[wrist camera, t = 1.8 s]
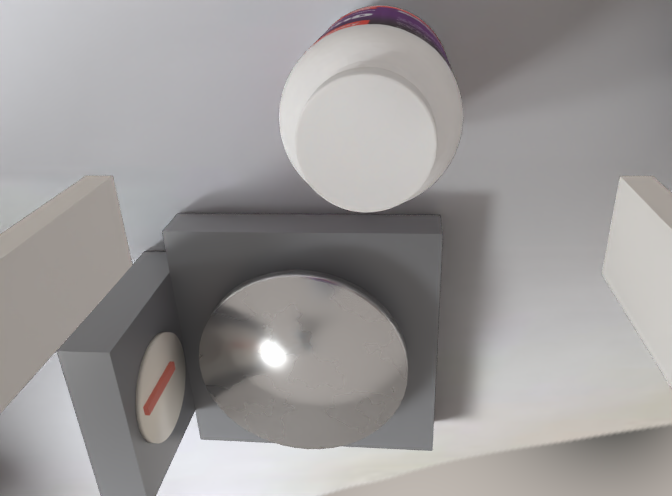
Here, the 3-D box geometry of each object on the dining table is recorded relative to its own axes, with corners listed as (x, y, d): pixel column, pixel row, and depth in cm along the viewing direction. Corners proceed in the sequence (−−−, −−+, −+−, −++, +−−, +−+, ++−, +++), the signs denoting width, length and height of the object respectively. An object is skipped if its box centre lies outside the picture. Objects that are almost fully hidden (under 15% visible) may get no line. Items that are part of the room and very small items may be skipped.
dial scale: (177, 411, 49) (113, 538, 38) (136, 213, 41) (42, 303, 30) (430, 422, 46) (438, 561, 36) (440, 214, 38) (454, 313, 28)
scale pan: (221, 422, 44) (213, 444, 43) (195, 260, 38) (183, 276, 36) (405, 431, 43) (406, 453, 41) (409, 263, 37) (409, 280, 35)
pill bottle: (368, -28, 33) (346, -19, 20) (475, 64, 34) (519, 127, 21) (286, 88, 36) (222, 160, 23) (387, 166, 37) (380, 275, 25)
